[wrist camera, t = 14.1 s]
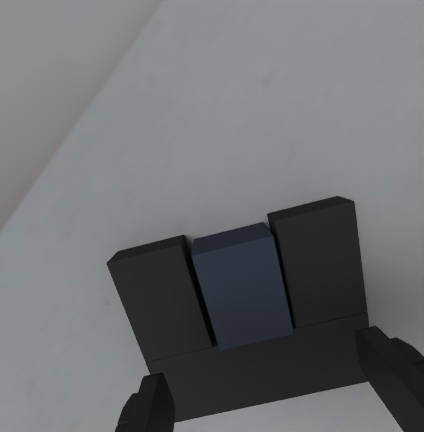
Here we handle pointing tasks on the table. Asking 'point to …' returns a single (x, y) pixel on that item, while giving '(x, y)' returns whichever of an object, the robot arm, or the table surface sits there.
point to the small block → (242, 286)
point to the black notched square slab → (264, 350)
